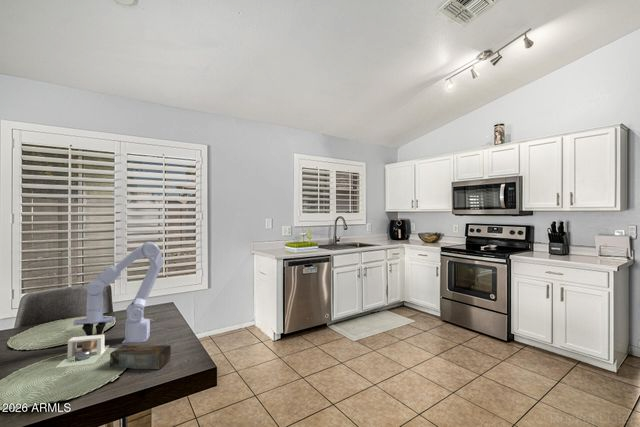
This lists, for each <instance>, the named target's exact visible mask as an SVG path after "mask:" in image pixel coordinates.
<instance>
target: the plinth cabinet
mask: <svg viewBox="0 0 640 427" xmlns="http://www.w3.org/2000/svg"><path fill="white" fill-rule="evenodd" d="M105 336H106V335H105V334H104V333H103V335H92V336H87V335H84V336H73V337H71V338H70V339H68V341H67V357H68V358H70V357H73V356H74V355H75V352H77V348H78V347H77V346H78V343H81V342H84V341H94V340H97V355H98V354H101V353H102V352H103V351H104V346H105Z"/></svg>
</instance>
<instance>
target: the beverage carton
mask: <svg viewBox="0 0 640 427" xmlns="http://www.w3.org/2000/svg"><path fill="white" fill-rule="evenodd" d="M171 346H172V345H164V344H160V345H156V344H155V345H141V344H140V345H136V344H135V345H132V344H130V345H129V344H128V345H126V344H123V345H121V346H120V347H118V348H115V349H114V350H113V351H112V352H110V353H109V356H110V357H109V367H110V368H129V369H130V370H161V369H162V368H163V367H165V366H166V365H167V364H168V363H169V362H171V354H172V353H171V352H172V350H171V349H172V348H171Z"/></svg>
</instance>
